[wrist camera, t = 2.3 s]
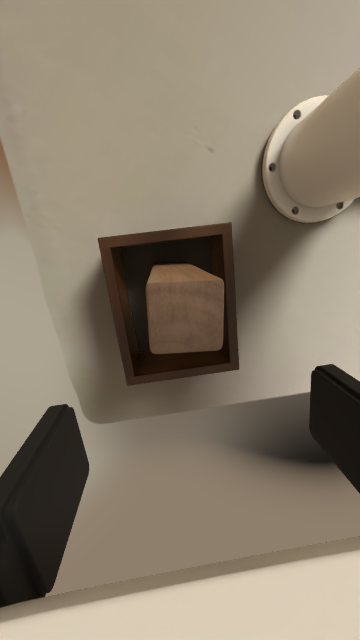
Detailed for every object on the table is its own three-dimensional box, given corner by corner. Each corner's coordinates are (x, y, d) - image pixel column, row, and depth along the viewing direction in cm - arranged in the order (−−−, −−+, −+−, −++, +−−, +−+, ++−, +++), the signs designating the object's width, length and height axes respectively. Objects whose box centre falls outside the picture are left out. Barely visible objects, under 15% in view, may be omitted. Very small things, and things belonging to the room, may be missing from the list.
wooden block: (189, 329, 33) (223, 415, 16) (156, 331, 33) (154, 421, 16) (188, 261, 31) (226, 278, 14) (152, 263, 31) (144, 281, 13)
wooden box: (215, 228, 30) (231, 222, 23) (224, 346, 34) (239, 369, 28) (111, 240, 29) (97, 238, 23) (133, 359, 34) (127, 385, 27)
